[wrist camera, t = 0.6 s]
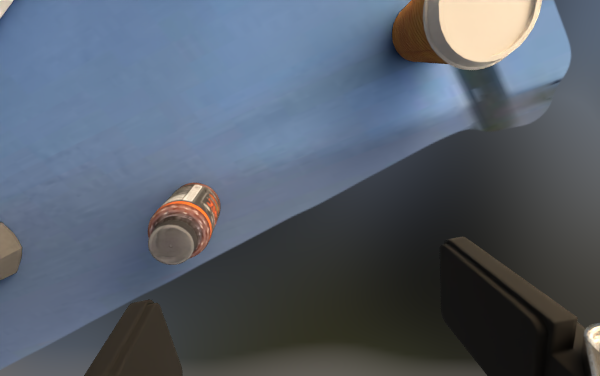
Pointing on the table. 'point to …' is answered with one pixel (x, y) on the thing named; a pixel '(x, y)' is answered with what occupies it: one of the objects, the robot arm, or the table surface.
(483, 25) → the disposable coffee cup
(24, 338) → the table surface
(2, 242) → the coffeepot
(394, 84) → the table surface
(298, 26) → the table surface
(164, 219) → the supplement bottle
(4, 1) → the crystal
